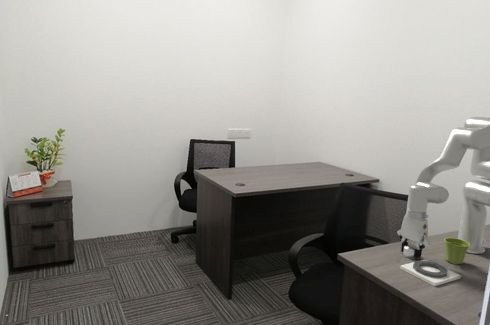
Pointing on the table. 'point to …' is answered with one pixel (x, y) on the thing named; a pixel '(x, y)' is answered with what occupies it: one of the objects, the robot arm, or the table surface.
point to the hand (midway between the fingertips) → (410, 254)
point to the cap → (409, 251)
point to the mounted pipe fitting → (430, 272)
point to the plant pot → (455, 250)
